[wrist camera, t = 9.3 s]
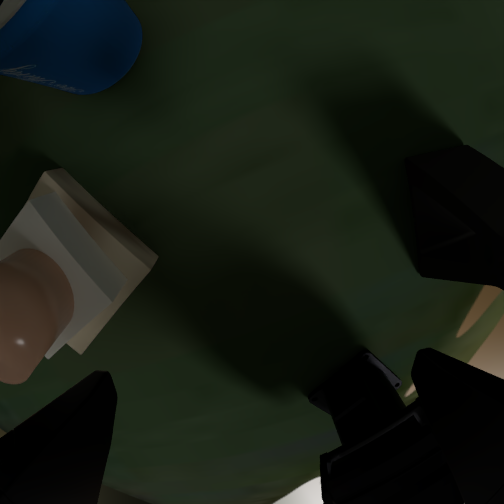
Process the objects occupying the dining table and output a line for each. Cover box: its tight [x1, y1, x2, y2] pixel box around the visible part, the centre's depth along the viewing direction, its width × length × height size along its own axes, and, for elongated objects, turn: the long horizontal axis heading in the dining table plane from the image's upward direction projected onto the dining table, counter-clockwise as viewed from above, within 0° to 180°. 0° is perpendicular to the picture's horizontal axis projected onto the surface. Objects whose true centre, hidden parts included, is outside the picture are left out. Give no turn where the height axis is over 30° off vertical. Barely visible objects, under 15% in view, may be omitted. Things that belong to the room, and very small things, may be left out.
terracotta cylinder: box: [0, 248, 74, 384], centre depth 13 cm, size 5×5×5 cm
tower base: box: [25, 168, 159, 355], centre depth 19 cm, size 9×9×3 cm
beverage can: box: [0, 0, 142, 95], centre depth 10 cm, size 6×6×12 cm
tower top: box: [0, 191, 128, 359], centre depth 16 cm, size 7×7×3 cm
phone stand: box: [405, 145, 504, 290], centre depth 15 cm, size 9×6×12 cm, turn 16°
